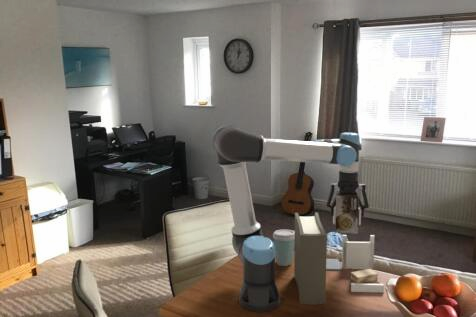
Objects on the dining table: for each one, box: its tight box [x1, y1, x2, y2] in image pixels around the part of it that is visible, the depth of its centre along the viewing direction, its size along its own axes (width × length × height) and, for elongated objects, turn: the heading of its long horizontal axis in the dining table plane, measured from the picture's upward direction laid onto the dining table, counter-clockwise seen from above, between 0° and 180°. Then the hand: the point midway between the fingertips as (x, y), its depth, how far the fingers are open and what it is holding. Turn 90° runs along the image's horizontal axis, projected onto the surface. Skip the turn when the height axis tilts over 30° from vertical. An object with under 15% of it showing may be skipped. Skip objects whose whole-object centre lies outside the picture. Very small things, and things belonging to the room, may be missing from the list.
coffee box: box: [334, 190, 360, 235], centre depth 170 cm, size 9×6×16 cm
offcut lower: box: [349, 276, 380, 285], centre depth 162 cm, size 10×5×3 cm, turn 92°
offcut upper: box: [350, 269, 379, 283], centre depth 162 cm, size 9×5×3 cm, turn 108°
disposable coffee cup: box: [272, 228, 295, 267], centre depth 182 cm, size 11×11×15 cm
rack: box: [341, 234, 385, 293], centre depth 166 cm, size 13×20×15 cm, turn 175°
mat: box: [326, 258, 342, 271], centre depth 181 cm, size 10×10×1 cm
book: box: [293, 212, 328, 305], centre depth 158 cm, size 22×9×28 cm, turn 178°
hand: (346, 223), depth 171 cm, fingers closed on coffee box, 9 cm apart
